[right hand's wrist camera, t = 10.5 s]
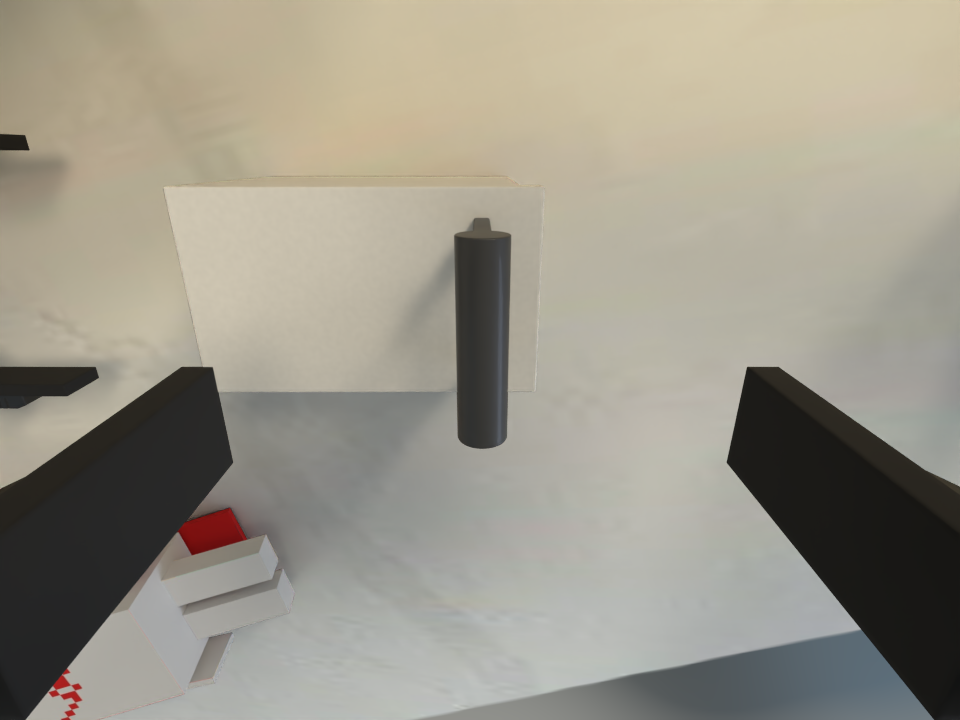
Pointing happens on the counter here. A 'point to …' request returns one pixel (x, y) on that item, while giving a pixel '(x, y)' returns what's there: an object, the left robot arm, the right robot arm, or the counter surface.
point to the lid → (367, 290)
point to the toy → (173, 622)
